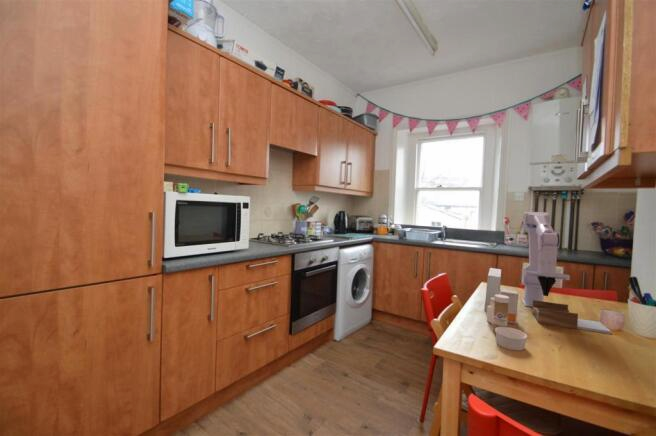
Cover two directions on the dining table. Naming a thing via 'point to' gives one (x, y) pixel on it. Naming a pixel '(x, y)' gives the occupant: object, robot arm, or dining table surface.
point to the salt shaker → (490, 311)
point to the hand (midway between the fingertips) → (545, 295)
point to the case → (554, 314)
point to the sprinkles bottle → (500, 311)
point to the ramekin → (510, 338)
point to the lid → (592, 326)
